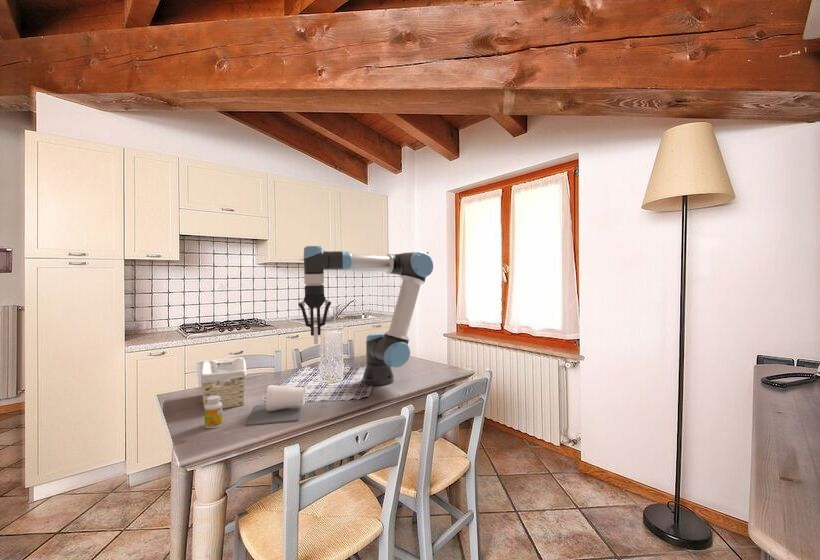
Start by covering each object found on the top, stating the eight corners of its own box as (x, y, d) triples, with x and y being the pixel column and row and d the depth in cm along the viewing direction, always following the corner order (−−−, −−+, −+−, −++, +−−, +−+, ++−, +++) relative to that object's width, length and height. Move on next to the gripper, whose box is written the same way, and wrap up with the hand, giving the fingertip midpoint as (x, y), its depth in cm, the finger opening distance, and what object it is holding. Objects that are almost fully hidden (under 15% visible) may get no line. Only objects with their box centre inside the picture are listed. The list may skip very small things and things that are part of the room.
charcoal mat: (300, 402, 144) (300, 401, 144) (298, 420, 127) (298, 419, 127) (255, 406, 140) (255, 404, 140) (246, 425, 123) (246, 424, 123)
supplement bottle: (200, 428, 121) (200, 399, 120) (212, 421, 126) (212, 394, 126) (215, 429, 120) (214, 400, 119) (226, 422, 125) (225, 395, 125)
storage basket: (247, 406, 141) (247, 369, 140) (199, 413, 133) (199, 374, 133) (244, 388, 162) (244, 356, 161) (203, 394, 154) (203, 360, 154)
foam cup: (304, 413, 136) (268, 416, 134) (305, 392, 143) (271, 394, 141) (302, 400, 130) (264, 402, 128) (304, 378, 137) (268, 380, 135)
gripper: (330, 283, 148) (331, 340, 148) (297, 284, 144) (299, 342, 145) (331, 284, 140) (333, 344, 141) (296, 285, 137) (298, 346, 138)
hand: (316, 343), depth 143 cm, fingers closed
